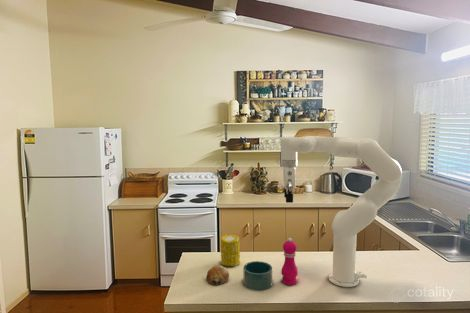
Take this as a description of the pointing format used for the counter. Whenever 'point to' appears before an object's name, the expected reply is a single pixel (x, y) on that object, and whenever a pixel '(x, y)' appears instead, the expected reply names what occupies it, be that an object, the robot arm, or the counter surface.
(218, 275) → the bread roll
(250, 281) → the pot
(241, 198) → the counter surface
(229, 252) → the food
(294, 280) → the pepper mill
